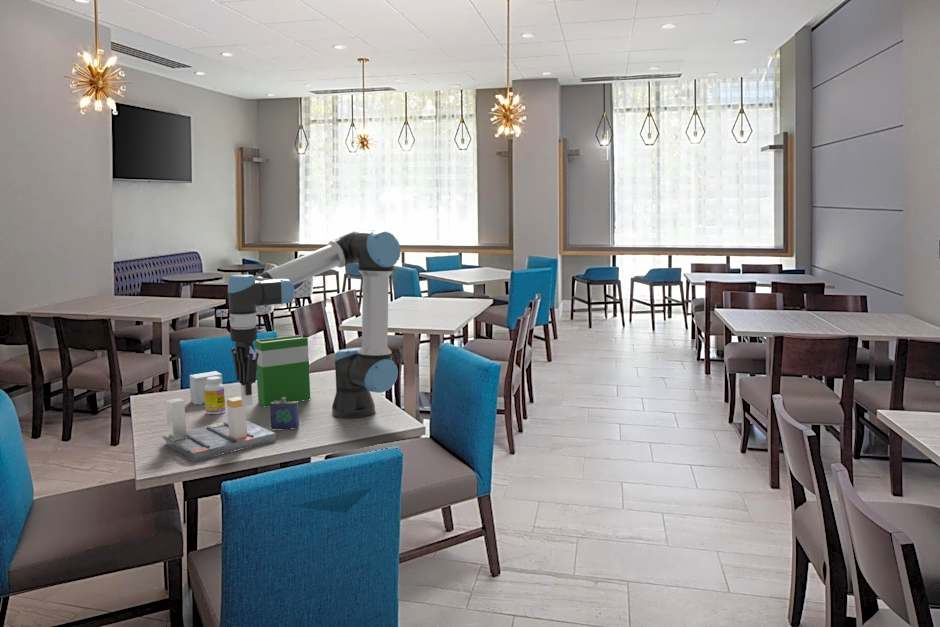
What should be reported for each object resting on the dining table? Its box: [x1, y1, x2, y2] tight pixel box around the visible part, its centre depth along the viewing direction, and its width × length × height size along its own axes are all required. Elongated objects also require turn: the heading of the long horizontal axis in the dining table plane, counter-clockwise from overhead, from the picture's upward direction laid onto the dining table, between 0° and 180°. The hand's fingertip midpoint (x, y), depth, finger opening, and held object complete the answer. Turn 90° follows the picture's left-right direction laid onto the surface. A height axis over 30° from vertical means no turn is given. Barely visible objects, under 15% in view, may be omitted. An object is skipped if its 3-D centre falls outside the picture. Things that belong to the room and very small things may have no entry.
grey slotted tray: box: [162, 397, 277, 462], centre depth 229 cm, size 23×27×15 cm
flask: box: [269, 397, 300, 430], centre depth 243 cm, size 9×3×11 cm, turn 95°
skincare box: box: [188, 370, 224, 405], centre depth 278 cm, size 10×6×10 cm, turn 131°
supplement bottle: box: [204, 376, 226, 415], centre depth 262 cm, size 7×7×13 cm
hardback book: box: [254, 334, 311, 408], centre depth 275 cm, size 18×7×24 cm, turn 124°
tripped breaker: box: [226, 396, 247, 439], centre depth 227 cm, size 4×4×12 cm
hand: (247, 404), depth 220 cm, fingers closed
